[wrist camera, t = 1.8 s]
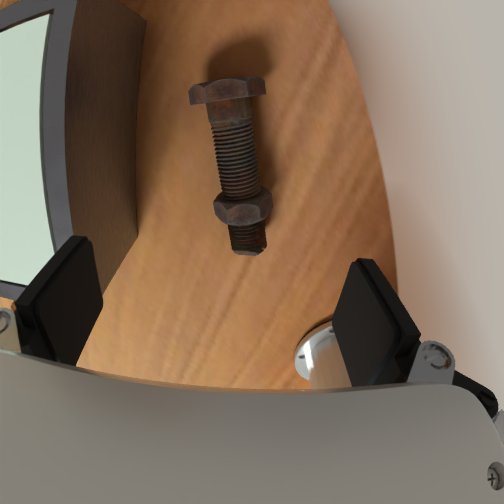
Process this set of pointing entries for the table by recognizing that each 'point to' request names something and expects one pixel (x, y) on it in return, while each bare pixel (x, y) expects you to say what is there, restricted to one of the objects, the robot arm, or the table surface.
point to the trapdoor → (23, 153)
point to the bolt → (236, 159)
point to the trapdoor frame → (88, 124)
